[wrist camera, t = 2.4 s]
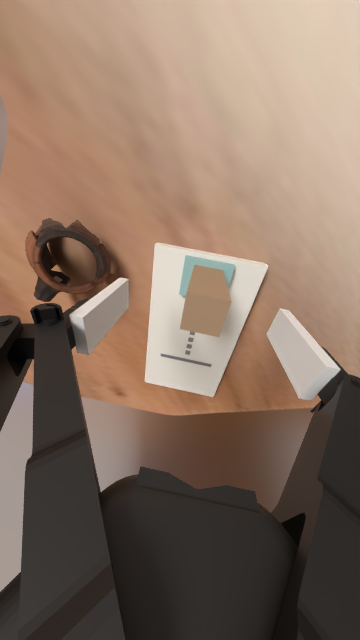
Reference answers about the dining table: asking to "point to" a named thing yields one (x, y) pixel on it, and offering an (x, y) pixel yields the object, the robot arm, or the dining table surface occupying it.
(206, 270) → the stub
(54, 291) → the dark brown looped ring
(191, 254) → the board
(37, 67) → the dining table surface
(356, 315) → the dining table surface
